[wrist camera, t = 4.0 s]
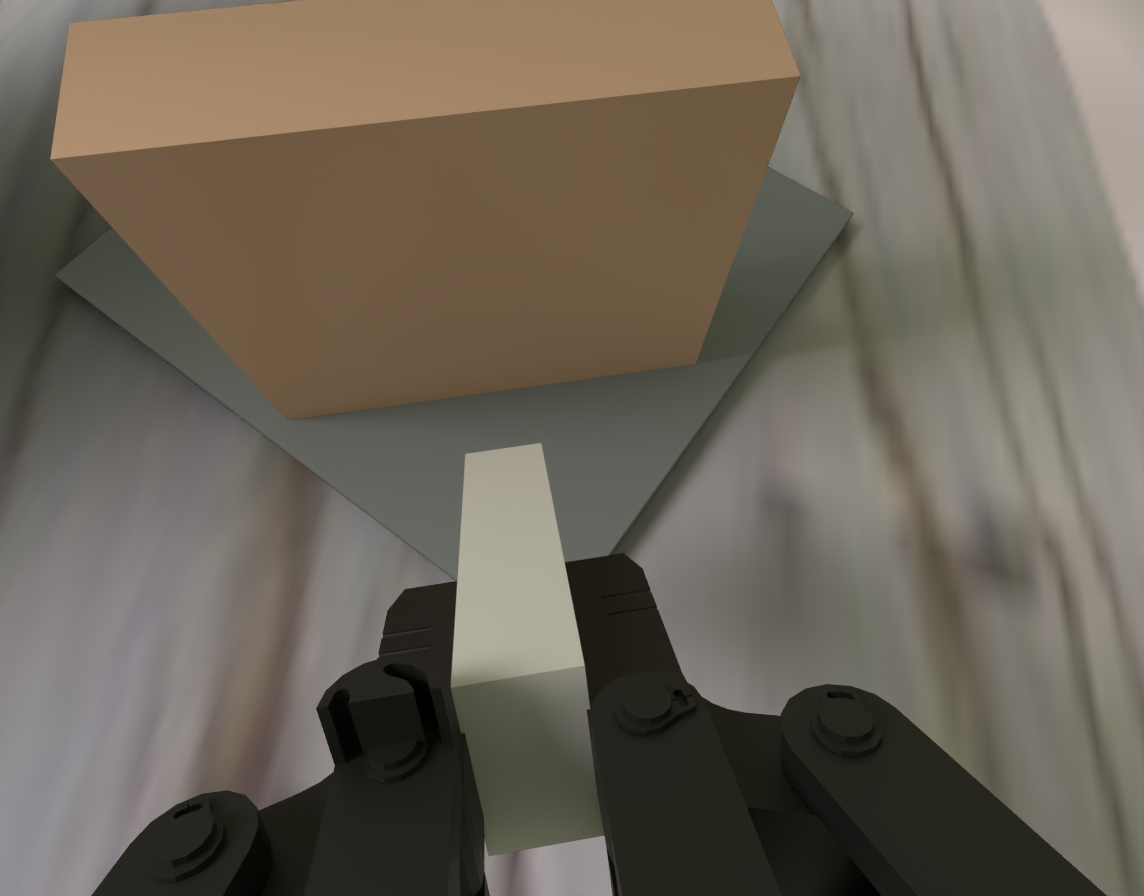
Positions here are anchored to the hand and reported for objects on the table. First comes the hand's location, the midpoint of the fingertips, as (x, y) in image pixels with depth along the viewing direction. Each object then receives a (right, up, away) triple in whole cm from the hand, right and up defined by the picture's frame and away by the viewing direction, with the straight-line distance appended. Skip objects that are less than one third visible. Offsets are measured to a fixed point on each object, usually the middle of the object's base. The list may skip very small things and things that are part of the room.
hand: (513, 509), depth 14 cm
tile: (-1, +4, +7) cm, 8 cm away
